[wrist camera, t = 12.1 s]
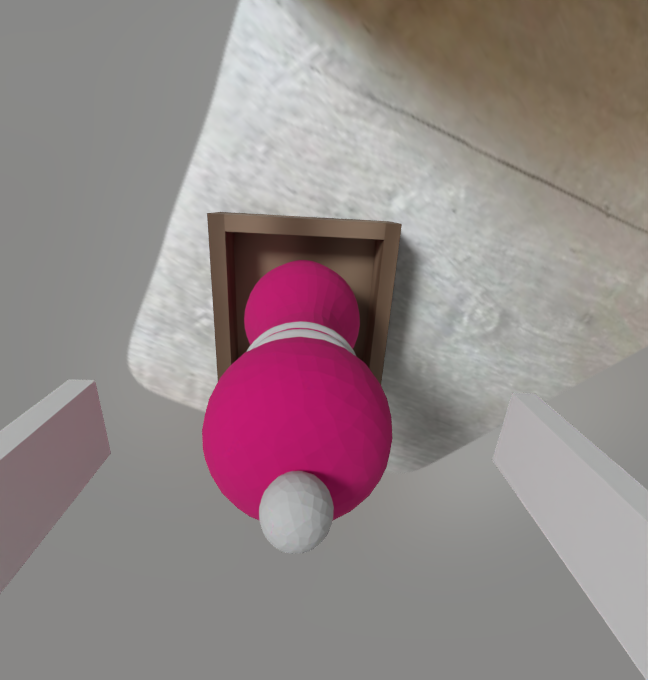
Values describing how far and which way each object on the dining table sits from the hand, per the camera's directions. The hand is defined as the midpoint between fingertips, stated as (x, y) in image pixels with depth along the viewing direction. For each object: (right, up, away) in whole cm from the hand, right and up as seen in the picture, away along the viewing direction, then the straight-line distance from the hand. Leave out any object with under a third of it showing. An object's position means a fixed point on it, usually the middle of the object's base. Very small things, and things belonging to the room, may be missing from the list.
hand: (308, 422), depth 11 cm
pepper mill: (-1, +6, +15) cm, 16 cm away
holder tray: (-1, +6, +16) cm, 17 cm away
